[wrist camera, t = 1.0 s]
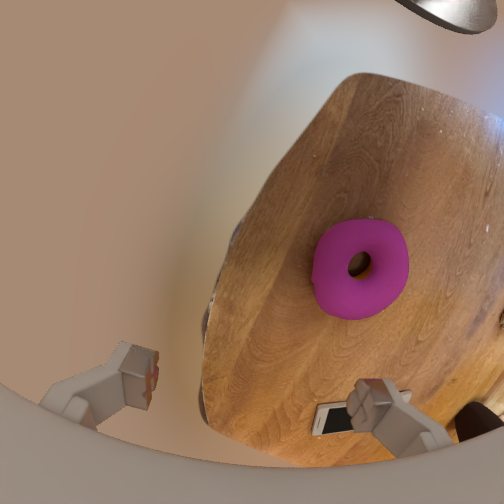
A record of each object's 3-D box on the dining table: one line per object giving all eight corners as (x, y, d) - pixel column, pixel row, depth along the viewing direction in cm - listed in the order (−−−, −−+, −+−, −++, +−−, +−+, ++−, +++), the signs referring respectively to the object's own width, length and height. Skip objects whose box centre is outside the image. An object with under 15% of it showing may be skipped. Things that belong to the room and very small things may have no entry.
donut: (401, 215, 27) (423, 225, 23) (388, 302, 30) (405, 322, 26) (308, 214, 27) (319, 224, 23) (304, 308, 30) (312, 331, 26)
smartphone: (397, 417, 37) (399, 421, 37) (310, 432, 37) (311, 436, 36) (411, 389, 35) (413, 393, 34) (317, 404, 35) (318, 408, 34)
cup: (469, 394, 38) (496, 433, 26) (496, 393, 39) (521, 424, 28) (440, 428, 40) (461, 467, 29) (471, 423, 42) (491, 456, 31)
